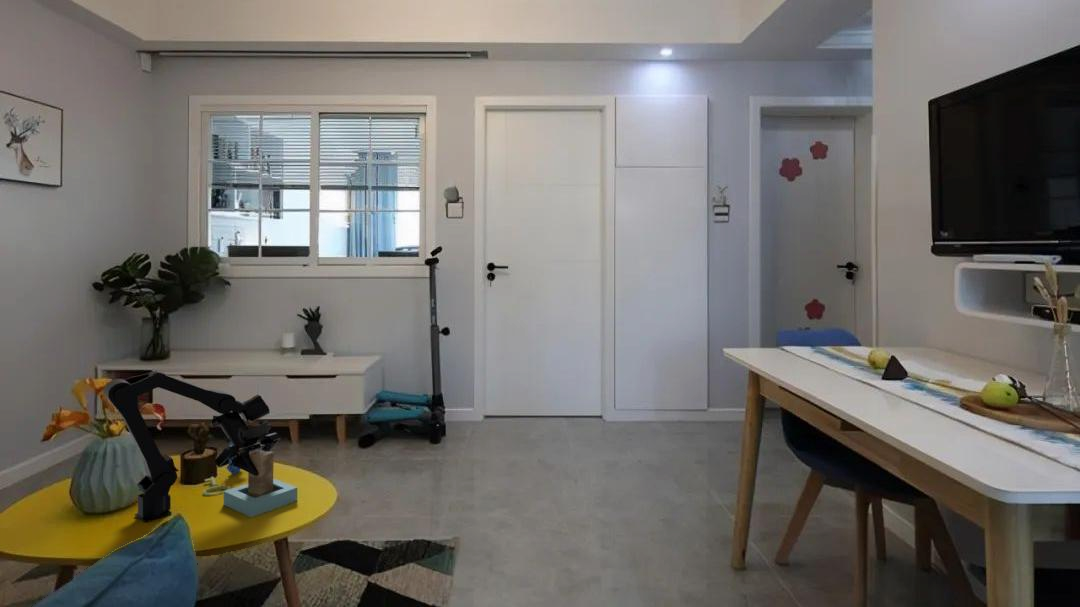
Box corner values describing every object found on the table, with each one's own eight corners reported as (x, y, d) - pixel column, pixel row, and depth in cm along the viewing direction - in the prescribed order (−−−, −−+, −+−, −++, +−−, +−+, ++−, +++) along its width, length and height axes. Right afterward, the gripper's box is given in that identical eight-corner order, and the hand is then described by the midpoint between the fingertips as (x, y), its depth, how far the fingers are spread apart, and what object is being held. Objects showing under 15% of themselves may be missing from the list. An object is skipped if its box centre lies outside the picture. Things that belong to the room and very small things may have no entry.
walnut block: (260, 498, 158) (260, 457, 157) (248, 495, 159) (248, 454, 159) (273, 492, 162) (273, 452, 161) (261, 489, 164) (261, 450, 163)
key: (213, 482, 176) (213, 475, 176) (233, 492, 169) (233, 485, 169) (188, 489, 170) (188, 482, 170) (208, 499, 163) (208, 492, 163)
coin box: (251, 517, 151) (251, 503, 151) (223, 504, 159) (223, 491, 158) (297, 500, 163) (297, 487, 163) (269, 489, 171) (269, 476, 170)
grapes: (243, 480, 177) (243, 443, 177) (220, 481, 176) (220, 444, 175) (254, 467, 189) (254, 433, 188) (233, 468, 187) (233, 433, 187)
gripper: (223, 420, 152) (253, 466, 149) (276, 406, 170) (304, 446, 166) (202, 444, 155) (230, 489, 152) (256, 428, 173) (283, 468, 170)
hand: (264, 472), depth 160 cm, fingers closed on walnut block, 5 cm apart
